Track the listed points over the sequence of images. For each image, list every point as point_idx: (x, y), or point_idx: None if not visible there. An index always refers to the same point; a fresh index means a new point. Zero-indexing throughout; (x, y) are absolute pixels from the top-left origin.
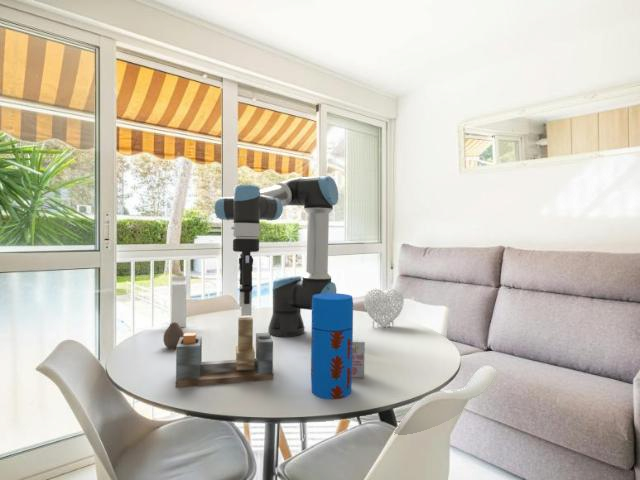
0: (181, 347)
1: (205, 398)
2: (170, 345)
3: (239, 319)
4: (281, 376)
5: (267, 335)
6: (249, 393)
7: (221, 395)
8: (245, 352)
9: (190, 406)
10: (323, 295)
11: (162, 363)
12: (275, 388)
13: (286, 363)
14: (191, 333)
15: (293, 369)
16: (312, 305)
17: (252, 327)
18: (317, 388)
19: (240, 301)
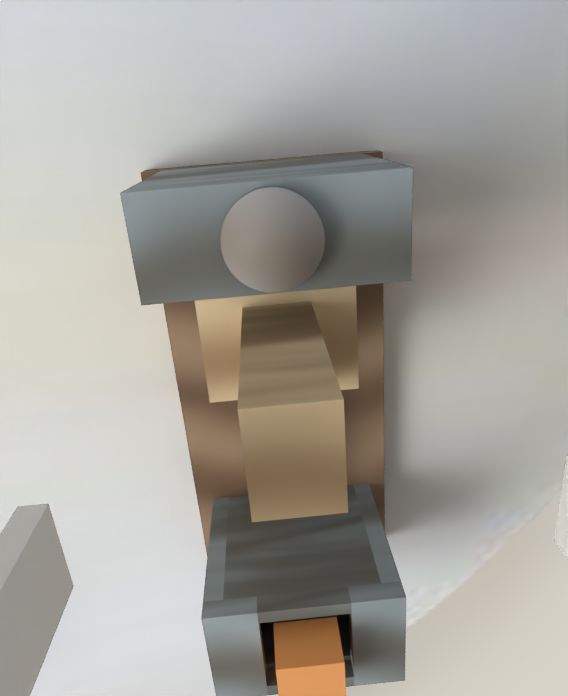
0: (403, 659)
1: (510, 428)
2: None
3: (326, 508)
4: (338, 97)
5: (282, 214)
6: (515, 268)
7: (501, 377)
8: (351, 341)
9: (561, 463)
10: None
11: (106, 630)
12: (495, 142)
13: (111, 42)
14: (294, 685)
15: (230, 2)
16: None
17: (331, 366)
18: None
19: (48, 633)
